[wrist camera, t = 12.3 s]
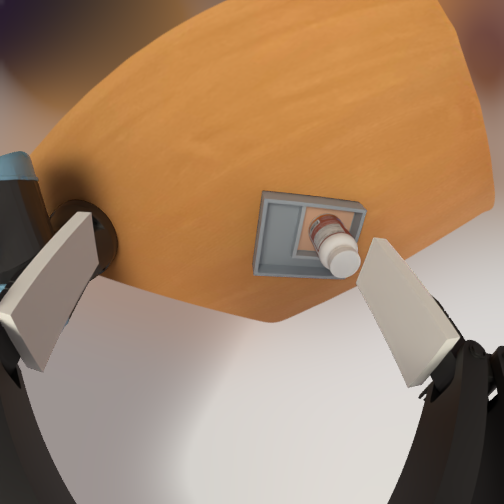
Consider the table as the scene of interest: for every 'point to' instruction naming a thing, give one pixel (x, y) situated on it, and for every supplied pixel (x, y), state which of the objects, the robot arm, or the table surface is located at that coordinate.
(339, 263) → the pill bottle
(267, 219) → the walled box
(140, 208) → the table surface
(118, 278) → the table surface
